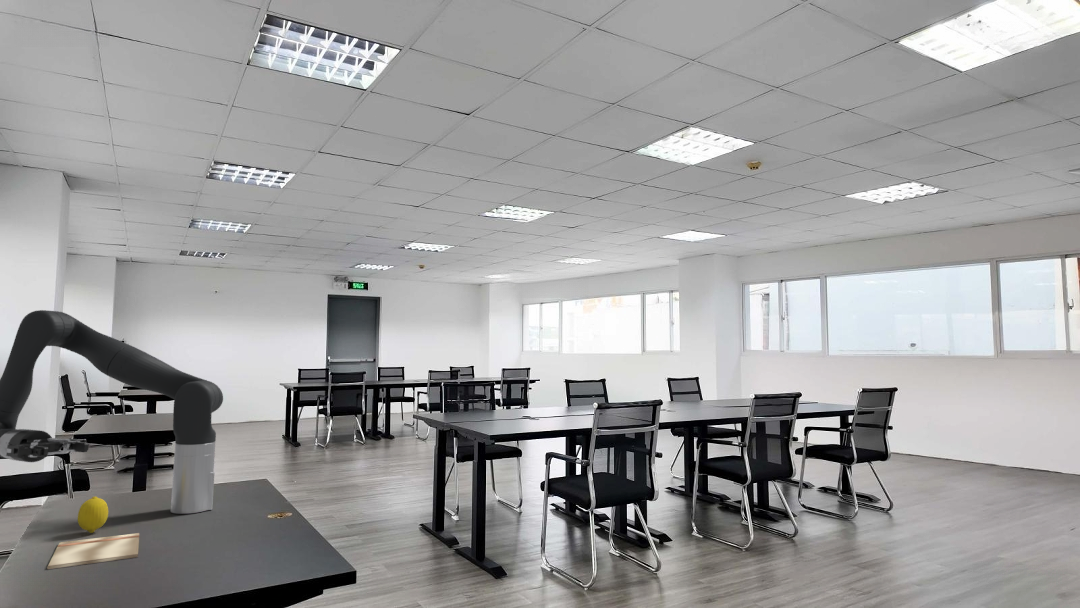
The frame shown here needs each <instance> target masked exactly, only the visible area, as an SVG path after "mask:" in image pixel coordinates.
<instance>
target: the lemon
mask: <svg viewBox="0 0 1080 608" xmlns="http://www.w3.org/2000/svg"><path fill="white" fill-rule="evenodd" d="M108 517H109V507H108V504H107V502H106V500H104V499H102V498H101V497H98V496H95V495H94V496H92V497H91V498H89V499H87V500H86V501H84V502H83V503H82V504H81V506H80V508H79V510H78V513H77V523H78V526H79V527H80V528H81V529H82V530H84V531H86V532H88V533H89V534H93V533H95V532H96V531H97V530H98V529H100V528H101V527H103V526H104V525H105V523H106V522H107V520H108Z"/></svg>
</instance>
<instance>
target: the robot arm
mask: <svg viewBox="0 0 1080 608" xmlns="http://www.w3.org/2000/svg"><path fill="white" fill-rule="evenodd" d="M46 347H57V348H62V349H65V350H67V351H70V352H72V353H75V354H77V355H80V356H82V357H83V358H84V359H86V360H87V361H89V362H90V364H92V365H93V366H94V367H95V368H96V369H97V370H98V371H99V372H101V373H102V374H104V375H106V376H108V377H109V378H111V379H114V380H116V381H118V382H120V383H123V384H125V385H128V386H130V387H133V388H138V389H141V390H145V391H149V392H154V393H158V394H161V395H164V396H166V397H169V398H170V399H173V410H172V411H173V415H172V419H173V420H172V431H173V434H174V437H175V442H174V443H175V444H174V455H173V456H174V457H173V471H172V486H171V501H170V513H172V514H183V515H184V514H196V513H200V512H205V511H211V510H213V502H214V487H215V456H216V455H215V454H216V453H215V452H216V442H217V441H216V440H217V439H216V438H217V433H216V430H215V429H214V428H213V425H212V413H214V412H216V411H217V410H219V408H221V406H222V405H223V402H224V393H223V392H222V389H221V388H220V387H219V386H218V385H217V384H216V383H215V382H212V381H209V380H207V379H204V378H200V377H197V376H195V375H192V374H189V373H186V372H184V371H181V370H179V369H177V368H175V367H174V366H172V365H170V364H168V363H166V362H164V361H163V360H161V359H159V358H157V357H155V356H153V355H151V354H149V353H147V352H145V351H144V350H141V349H140V348H138V347H135V346H133V345H132V344H129V343H127V342H124V341H121V340H119V339H116V338H115V337H113V336H109V335H106V334H103V333H101V332H99V331H97V330H95V329H94V328H92V327H90V326H88V325H86V323H83V321H80V320H78V319H77V318H76V317H74V316H72V315H70V314H68V313H66V312H63V311H57V310H43V309H41V310H33V311H31V312H29V313H27V315H25V316H24V317H23V318H22V320H21V322H20V324H19V326H18V329H17V332H16V335H15V337H14V340H13V344H12V347H11V349H10V353H9V354H8V355H9V356H8V358H7V362H6V365H5V367H4V370H3V373H2V375H1V377H0V458H3V459H7V460H11V461H18V462H24V463H36V462H37V463H38V462H40V461H42V460H44V459H45V458H47V457H48V456H52V455H64V454H68V453H73V452H75V453H77V452H78V453H88V451H89V445H90V444H89V443H88V442H87V439H85V438H84V439H80V438H78V439H77V438H70V437H69V438H56V437H52V436H51V434H49V432H47V431H44V430H40V429H39V430H37V429H27V428H19V429H18V428H17V425H18V419H19V416H20V414H21V412H22V411H23V408H24V407H25V405H26V403H27V401H28V399H29V397H30V395H31V392H32V390H33V389H32V388H33V384H34V383H33V379H34V369H35V366H36V363H37V360H38V358H39V357H40V355H41V354H42V352H43V351H44V349H46ZM16 428H17V429H16ZM62 448H63V450H62Z"/></svg>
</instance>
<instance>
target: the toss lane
mask: <svg viewBox="0 0 1080 608" xmlns="http://www.w3.org/2000/svg"><path fill="white" fill-rule="evenodd" d="M139 546H140V532H137V533H129V534H127V533H126V534H122V535H111V536H104V537H95V538H87V539H86V538H85V539H79V540H78V539H77V540H71V541H70V540H69V541H61V542H60V541H59V543H58V545H57V547H56V548H55V550H54V553H53V555H52V557H51V559H50V560H49V563H48V565H47V566H46V570H53V569H60V568H68V567H77V566H83V565H89V564H90V565H91V564H98V563H106V562H112V561H120V560H125V559H127V560H128V559H134V558H138V557H139Z"/></svg>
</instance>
